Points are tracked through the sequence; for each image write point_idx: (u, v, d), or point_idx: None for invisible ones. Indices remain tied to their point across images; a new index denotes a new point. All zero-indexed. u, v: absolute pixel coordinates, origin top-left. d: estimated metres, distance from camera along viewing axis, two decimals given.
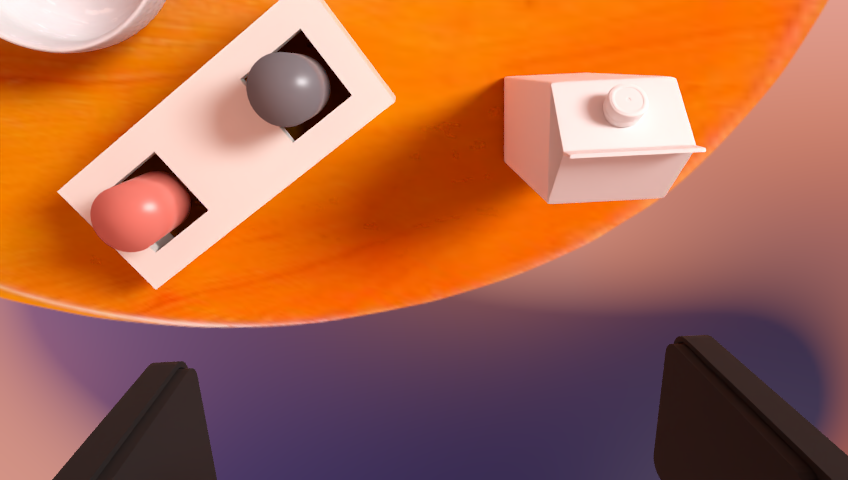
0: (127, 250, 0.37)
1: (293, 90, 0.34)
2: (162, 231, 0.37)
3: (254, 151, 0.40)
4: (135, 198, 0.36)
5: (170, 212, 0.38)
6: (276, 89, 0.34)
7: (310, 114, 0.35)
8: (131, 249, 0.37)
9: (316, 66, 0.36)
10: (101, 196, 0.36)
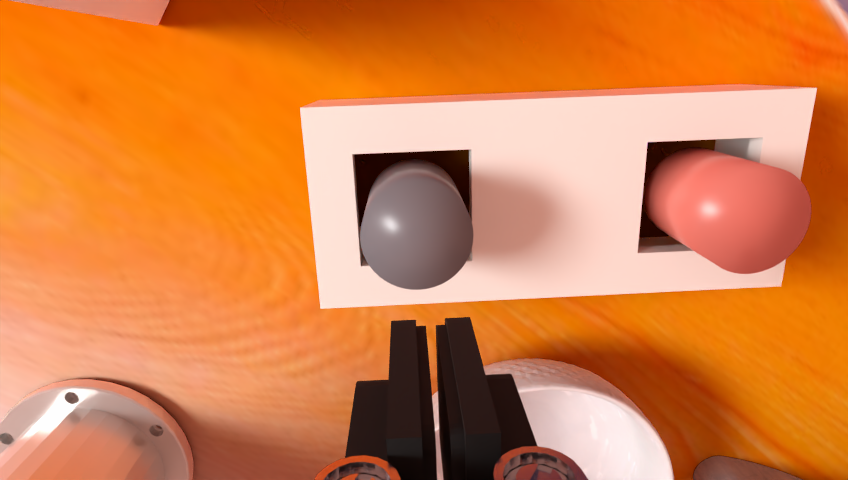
0: (798, 182, 0.22)
1: (403, 229, 0.22)
2: (730, 171, 0.22)
3: (526, 172, 0.26)
4: (715, 238, 0.22)
5: (694, 184, 0.23)
6: (424, 243, 0.22)
7: (404, 185, 0.21)
8: (792, 181, 0.22)
9: None
10: (749, 269, 0.23)
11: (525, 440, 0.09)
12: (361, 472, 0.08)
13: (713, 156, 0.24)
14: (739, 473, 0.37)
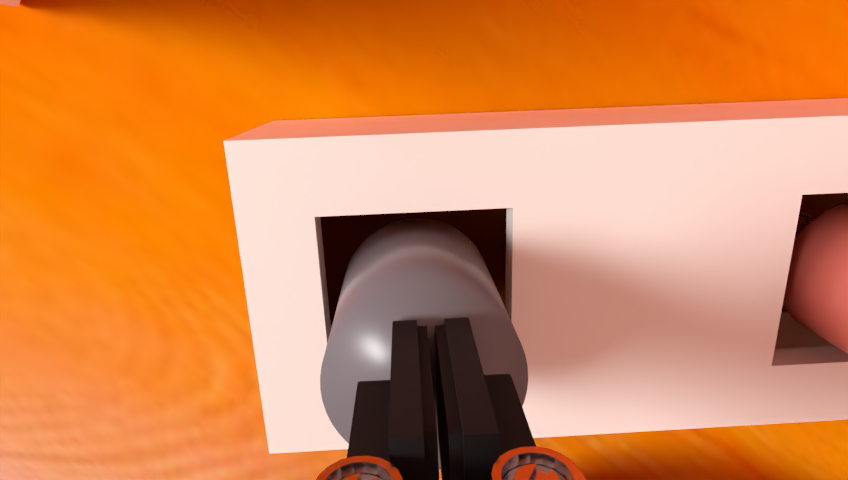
0: None
1: None
2: None
3: (602, 244, 0.16)
4: None
5: None
6: None
7: (402, 294, 0.11)
8: None
9: None
10: None
11: (524, 440, 0.09)
12: (363, 472, 0.08)
13: None
14: None
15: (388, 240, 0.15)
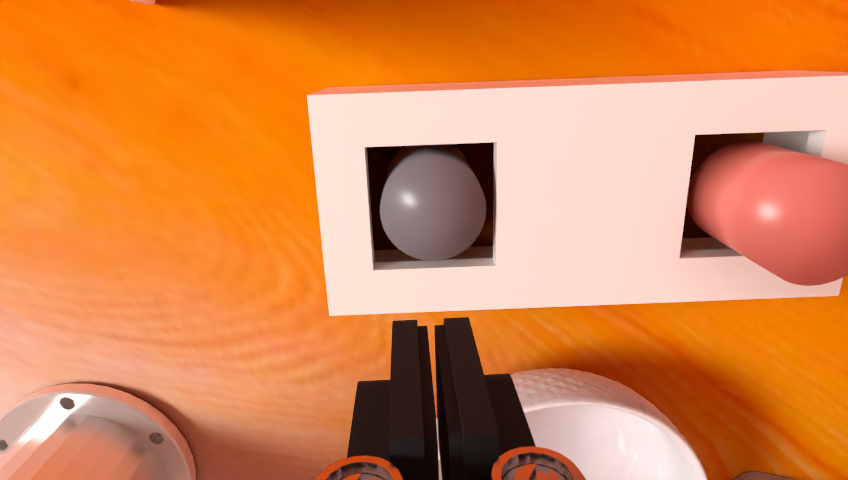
0: None
1: (420, 203, 0.23)
2: (795, 169, 0.19)
3: (558, 168, 0.23)
4: (776, 246, 0.20)
5: (751, 183, 0.21)
6: (440, 217, 0.23)
7: (422, 161, 0.23)
8: None
9: None
10: (813, 280, 0.20)
11: (524, 440, 0.09)
12: (363, 472, 0.08)
13: (771, 151, 0.22)
14: None
15: (413, 147, 0.26)
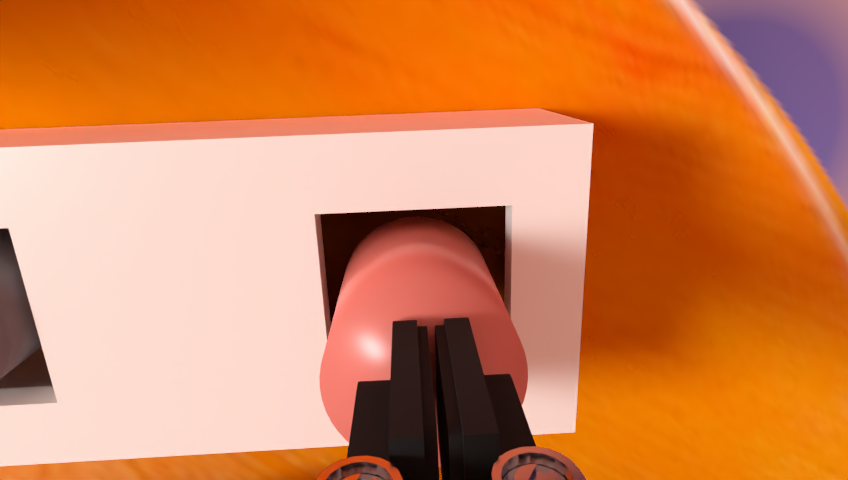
0: (493, 313, 0.11)
1: None
2: (371, 290, 0.12)
3: (114, 264, 0.15)
4: None
5: (341, 301, 0.13)
6: None
7: None
8: (480, 310, 0.11)
9: None
10: None
11: (523, 440, 0.09)
12: (363, 472, 0.08)
13: (400, 244, 0.14)
14: None
15: None
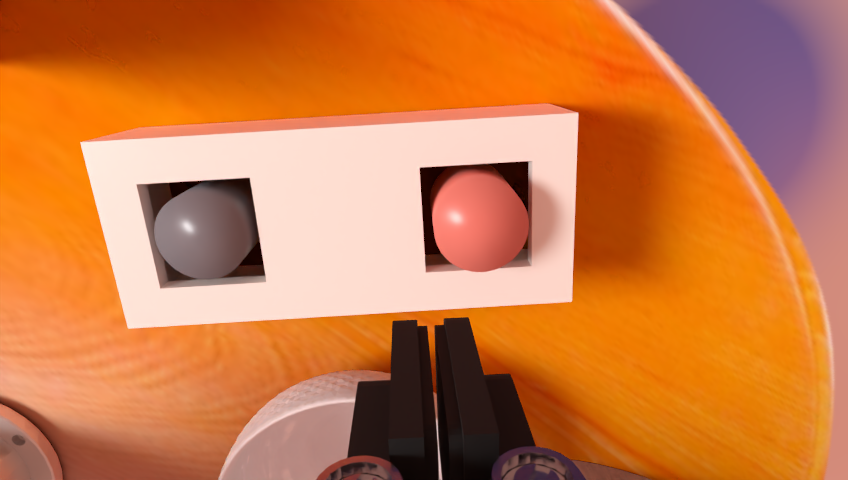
0: (512, 194, 0.26)
1: (188, 230, 0.27)
2: (457, 185, 0.26)
3: (306, 198, 0.27)
4: (448, 242, 0.26)
5: (439, 195, 0.27)
6: (207, 242, 0.27)
7: (184, 195, 0.26)
8: (506, 192, 0.25)
9: None
10: (483, 268, 0.27)
11: (524, 440, 0.09)
12: (363, 472, 0.08)
13: (465, 170, 0.28)
14: (586, 477, 0.38)
15: None
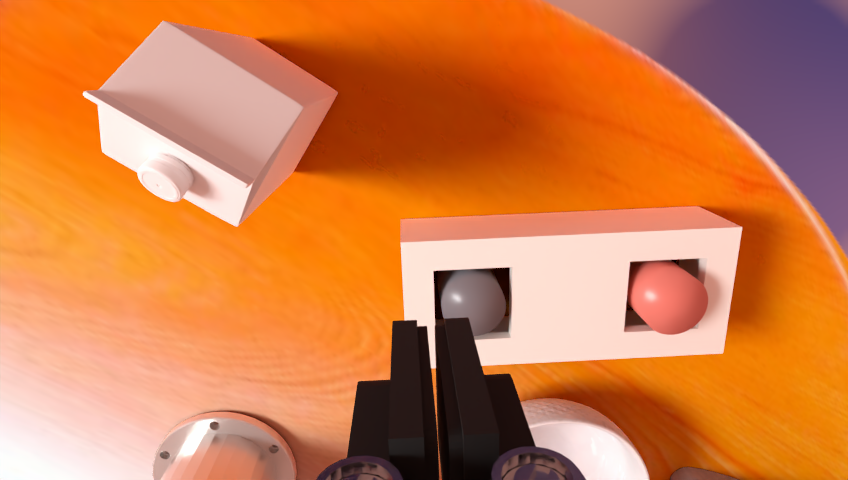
0: (699, 283, 0.37)
1: (466, 303, 0.38)
2: (660, 276, 0.38)
3: (548, 281, 0.39)
4: (652, 314, 0.38)
5: (640, 280, 0.39)
6: (478, 310, 0.39)
7: (468, 279, 0.38)
8: (696, 282, 0.37)
9: (439, 295, 0.41)
10: (673, 332, 0.38)
11: (523, 440, 0.09)
12: (363, 472, 0.08)
13: (654, 260, 0.40)
14: None
15: None
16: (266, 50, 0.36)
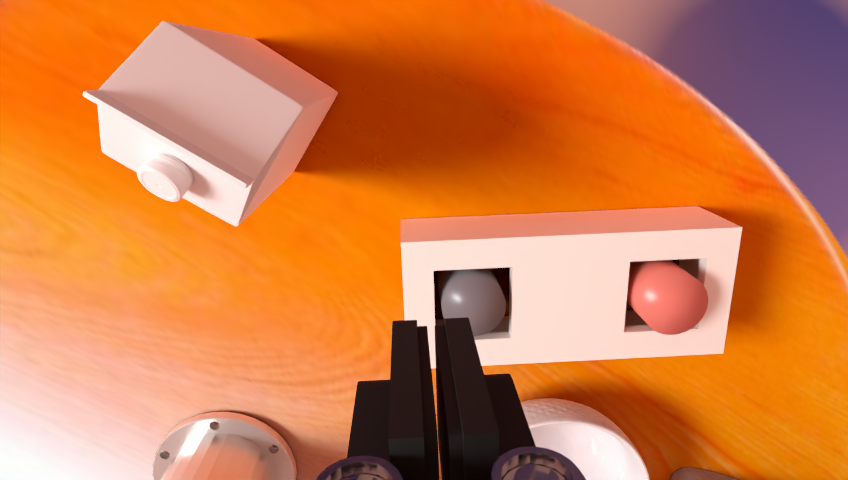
0: (699, 283, 0.37)
1: (466, 303, 0.38)
2: (660, 276, 0.38)
3: (548, 281, 0.39)
4: (652, 315, 0.38)
5: (640, 280, 0.39)
6: (478, 311, 0.39)
7: (468, 279, 0.38)
8: (696, 282, 0.37)
9: (439, 295, 0.41)
10: (673, 332, 0.38)
11: (523, 440, 0.09)
12: (363, 472, 0.08)
13: None
14: None
15: None
16: (266, 50, 0.36)
